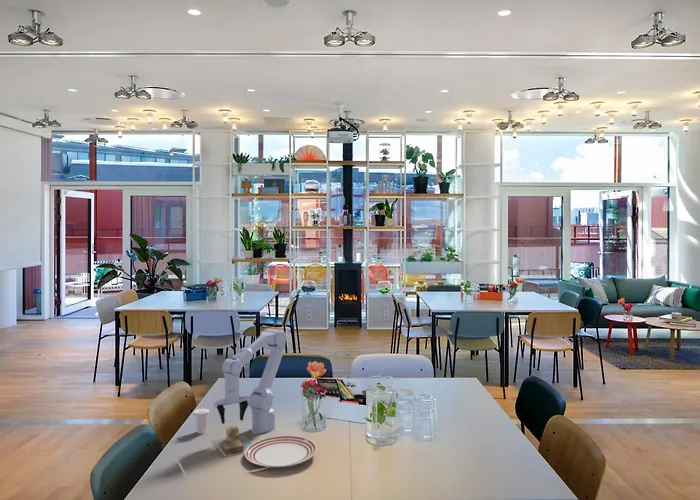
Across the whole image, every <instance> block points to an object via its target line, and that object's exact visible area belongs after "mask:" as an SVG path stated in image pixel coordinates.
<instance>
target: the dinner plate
mask: <svg viewBox="0 0 700 500" xmlns="http://www.w3.org/2000/svg"><path fill="white" fill-rule="evenodd" d="M317 451H318V446H317V444H316V443H315V442H314V441H313V440H311V439H310V438H307V437H304V436H299V435H292V434H291V435H286V434H285V435H276V436H270V437H265V438H262V439H259V440H257V441H255V442H252V444H251V445H250V446H249V447H248V448H247V449H246V450H245V454H244V458H246V460H247V462H249V463H251V464H254V465H256V466H261V467H266V468H276V469H277V468H278V469H279V468H280V469H281V468H288V467H294V466H297V465H299V464H304V463H305V462H306V461H308V460H310V459H312V458H313V457H314V456H315V454H316V453H317Z"/></svg>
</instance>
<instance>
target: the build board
mask: <svg viewBox="0 0 700 500" xmlns="http://www.w3.org/2000/svg"><path fill="white" fill-rule="evenodd" d="M239 441H240V442H241V443H242V444H243V445H244V452H241V453H236V454H231V455H225V454H224V452H223V451H222V450H221V443H222V442H227V439H226V438H221V439H217V440H211V443H212V444H213V446H214V448H215V449H216V450H217V451H218V453H219V455H220V456H221V457H222V458H223V459H225V458H229V457H234V456H238V455H243V454H244V455H245V450H246V449H247V448H248V447H249V446H250V445H251V444H253V442H251V440H250V439H249V438H248V437H247V436H246V434H242V435H239Z"/></svg>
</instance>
